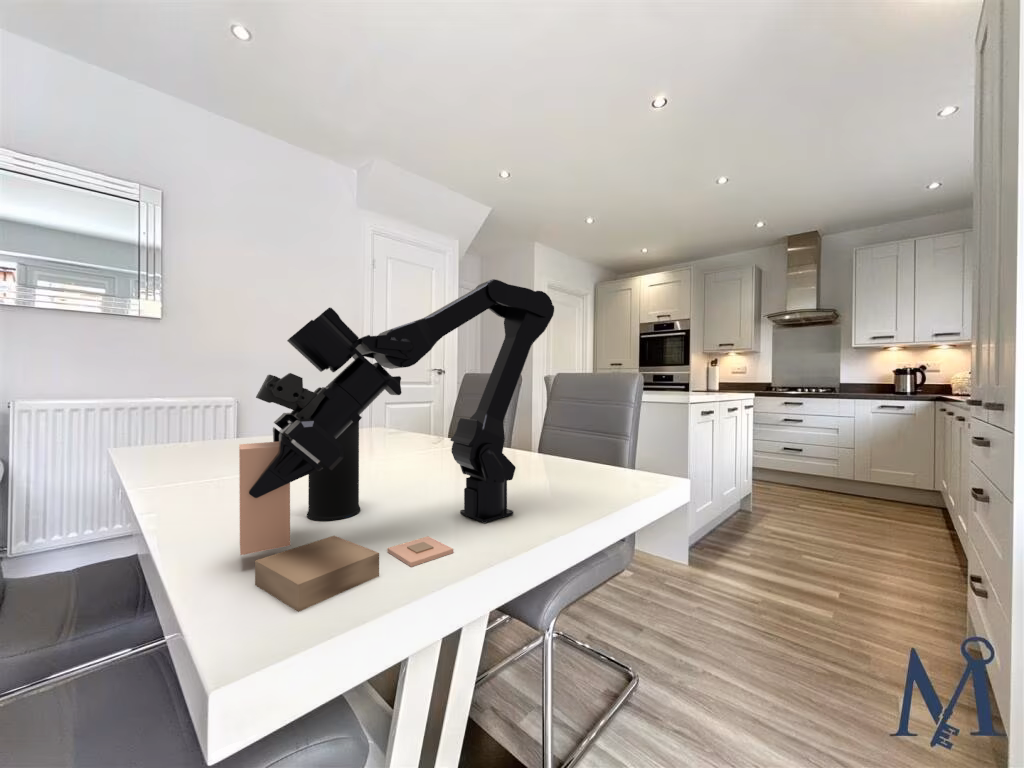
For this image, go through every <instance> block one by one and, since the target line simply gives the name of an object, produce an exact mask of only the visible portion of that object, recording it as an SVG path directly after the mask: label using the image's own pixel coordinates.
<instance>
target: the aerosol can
mask: <svg viewBox="0 0 1024 768" xmlns="http://www.w3.org/2000/svg"><path fill="white" fill-rule="evenodd" d="M336 439H337V440H338V441H339V443H340V444H341V445H342V446H344V458H343V459H342V460H341V461H340V462H339V463H338V464H337V465H336V466H335V467H334V468H333V469H332V470H330V469H329V468H328V467H327V466H325V465H324V464H323V463H322V462H321V461H320V462H319V463H318V464H319V465H320V466H321V467H322V468H323V469H321V470H320V471H319V470H317V471H315V472H313V473H310V474H308V496H307V497H308V498H307V499H308V511H307V512H306V517H307V519H309V520H312V521H319V522H328V521H339V520H344V519H348V518H351V517H354V516H356V515H358V514H359V513H360V512H361V506H360V505H359V504H360V473H359V472H360V420H359V421H358V422H357V423H354V422H352V423H351V424H350V425H349V426H348V427H347V428H346V429H345V430H344V431H343V432H342V433H341V434H340V435H339V436H338V437H337V438H336Z"/></svg>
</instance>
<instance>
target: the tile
mask: <svg viewBox="0 0 1024 768" xmlns="http://www.w3.org/2000/svg"><path fill="white" fill-rule="evenodd" d="M386 549H387V550H386V551H387V553H388V554H390V555H391V556H393V557H395V558H396V559H398V560H399V561H400V562H403V563H404V564H406V565H407V566H408V567H411V568H412V567H415V566H418V565H421V564H424V563H427V562H430V561H434V560H436V559H438V558H442V557H444V556H445V557H446V556H448V555H451V554H453V553H454V548H452V547H451V546H449V545H447V544H444V543H442V542H441V541H438V540H437V539H436V538H432V537H431V536H428V535H427V536H424V537H421V538H418V539H413V540H410V541H407V542H404V543H400V544H396V545H393V546H388V547H386Z"/></svg>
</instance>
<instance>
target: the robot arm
mask: <svg viewBox="0 0 1024 768" xmlns="http://www.w3.org/2000/svg"><path fill="white" fill-rule="evenodd" d="M487 310H489V311H491V312H492V313H494V315H496V316H497V317H500V318H502V319H503V326H504V327H503V328H504V339H503V341H502V344H501V347H500V349H499V352H498V354H497V358H496V360H495V363H494V365H493V367H492V370H491V373H490V375H489V378H488V381H487V383H486V385H485V388H484V390H483V393H482V396H481V397H480V400H479V403H478V405H477V409H476V411H475V412H474V414H472V416H471V417H470V418H464V417H463V418H462V417H460V419H459V420H458V422H457V424H456V425H457V426H456V427H457V428H456V430H455V433H454V434H453V436H452V437H451V438H450V439H449V441H451V442H453V443H452V445H451V454H452V456H453V459H454V461H455V462H456V463H457V464H458V465H459V466H460V470H461V472H462V474H463V475H467V476H469V477H465V487H464V490H463V504H464V505H463V506H464V507H463V509H461V510H460V513H459V514H461V515H463V516H465V517H468V518H471V519H473V520H475V521H478V522H481V523H488V522H492V521H495V520H498V519H499V520H500V519H501V518H504V517H505V518H506V517H508V516H512V515H514V510H512V509H509V508H508V481H512V480H513V479H514V475H515V471H516V465H514V464H513V463H512V461H511V460H510V459H509V458H508V457H507V456H506V455H505V454H504V453H503V452H504V446H505V442H506V436H505V426H504V425H505V424H504V421H505V418H506V416H507V414H508V413H507V412H508V410H509V408H510V405H511V402H512V399H513V396H514V394H515V391H516V388H517V386H518V383H519V379H520V378H521V374H522V371H523V369H524V367H525V364H526V361H527V359H528V356H529V353H530V350H531V348H532V346H533V344H534V343H535V342H536V341H537V340H538V339H539V337H540V336H541V335H543V333H544V332H545V331H546V330H547V328H548V326H549V324H550V322H551V321H552V319H553V317H554V313H555V306H554V304H553V302H552V299H551V298H550V296H549V295H548V294H547V293H546V292H545V291H542V290H536V291H535V290H534V289H530V288H527V287H523V286H517V285H513V284H508V283H506V282H504V281H502V280H499V279H495V278H494V279H492V278H491V279H489V280H488V281H484V282H482V283H479V284H478V285H477V286H476V287H475V288H474V289H472V290H469V292H467V293H464V294H463V295H461V296H460V297H458V298H455V299H454V300H453V301H451V302H448V303H447V304H446V305H444V306H442V307H440V308H439V309H437V310H435V311H433V312H432V313H430V314H428V315H426V316H425V317H423V318H419V319H417V320H413V321H410V322H408V323H405V324H402V325H398V326H396V327H392V328H389V329H387V330H385V331H382V332H380V333H379V334H377V335H370V334H367V335H365V336H362V337H359V336H358V335H357V334H356V333H355V332H354V331H353V330H352V329H351V328H350V327H349V326H348V325H347V324H346V323H345V321H343V320H342V319H341V317H340V315H339V314H338V312H336V310H335V309H333V307H328V308H327V309H325V310H324V311H322V313H321V314H319V315H318V316H317V317H316V318H314V319H311V320H309V322H307V323H306V324H305V325H304V326H302V327H301V328H300V329H299V330H297V332H296V333H294V334H293V335H292V336H290V337H289V338H288V339H287V340H286V341H287V342H288V343H289V344H290V345H291V346H292V347H293V348H294V349H295V350H296V351H297V352H298V353H300V355H302V357H304V358H305V359H306V360H307V361H308V362H309V363H310V364H311V365H312V366H313V367H315V368H316V370H318V371H319V372H320V373H322V372H323V371H325V370H326V371H327V370H330V372H332V373H336V372H337V371H339V369H341V368H342V367H343V366H344V365H345V364H346V363H347V362H349V360H351V358H352V359H353V361H352V362H350V364H348V365H347V366H346V367H345V368H344V369H343V370H342V371H341V372H340V373H338V375H337V376H336V377H335V378H334V379H332V380H331V381H330V382H329V383H328V384H327V385H326V386H322V387H320V386H319V387H318V388H316V389H315V390H314V391H312V390H309V389H308V388H305V387H304V383H303V381H304V380H303V377H301V376H299V375H296V374H294V373H292V372H289V373H287V374H286V375H284V376H283V377H281V378H280V377H278V376H276V375H273V374H267V375H266V378H265V379H264V381H263V383H262V385H261V387H260V388H259V391H257V394H256V396H255V398H256V399H258V400H261V401H264V402H266V403H269V404H271V403H273V404H277V405H279V406H282V407H285V408H287V409H289V410H292V411H290V412H283V413H282V414H281V415H280V416H279V417H278V418H276V419H275V421H273V424H275V425H276V426H277V427H278V428H280V429H279V430H278V429H277V428H276V427H274V426H272V427H273V428H272V439H273V440H272V442H279V452H278V454H277V455H276V456H275V457H274V459H273V460H272V461H271V463H270V464H269V465H268V467H267V468H266V469H265V471H264V472H263V473H262V474H261V476H260V477H259V478H258V480H257V481H256V482H255V484H254V485H253V486H252V488H251V489H250V491H249V494H250V495H251V496H253V497H254V498H258V497H260V496H262V495H264V494H267V493H269V492H271V491H273V490H275V489H277V488H279V487H281V486H284V485H286V484H288V483H290V484H291V483H292V482H294V481H296V480H298V479H301V478H303V477H306V476H309V474H310V473H313V472H315V471H317V470H319V471H320V470H321V469H323V468H322V467H321V466H320V465H319V464H318V463H319V462H320V461H321V462H322V463H323V464H324V465H325V466H327V467H328V468H329V469H330V470H332V469H333V468H334V467H335V466H336V465H337V464H338V463H339V462H340V461H341V460H342V459H343V458H344V446H342V445H341V444H340V443H339V441H338V440H337V439H336V438H337V437H338V436H339V435H340V434H341V433H342V432H343V431H344V430H345V429H346V428H347V427H348V426H349V425H350V424H351V423H352V422H354V423H357V422H358V421H359V422H360V421H361V419H362V418H363V417H362V416H361V414H362V413H363V412H364V411H365V410H366V409H367V408H368V407H369V406H370V405H371V404H372V403H373V402H374V401H375V400H376V399H377V398H378V397H379V396H381V394H382V393H383V392H384V391H386V392H387V393H388V394H389V395H391V396H400V395H402V393H403V392H402V387H401V382H402V381H401V380H402V377H401V376H400V375H398V376H396V375H395V376H392V375H391V373H389V372H388V371H387V370H386V369H389V370H390V369H391V370H393V369H402V368H410V367H412V366H414V365H416V364H417V363H418V362H419V361H420V360H421V359H423V357H425V356H426V355H427V354H428V353H429V352H431V350H432V349H433V347H435V346H436V344H437V343H438V341H440V340H441V339H442V338H443V337H444V336H447V334H450V333H451V332H453V331H454V330H456V329H458V328H459V327H460V326H462V325H464V324H466V323H468V322H469V321H470V320H473V319H474V318H475V317H477V316H479V315H480V314H482V313H484V312H485V311H487ZM367 358H369V359H373V360H374V361H375V362H374V363H372V362H371V361H369V360H368V359H367ZM385 368H386V369H385Z"/></svg>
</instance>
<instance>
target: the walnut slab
mask: <svg viewBox="0 0 1024 768" xmlns="http://www.w3.org/2000/svg"><path fill="white" fill-rule="evenodd" d="M378 577H380V552H378V551H375V550H373V549H370V548H368V547H365V546H363V545H360V544H357V543H355V542H352V541H349V540H347V539H345V538H342V537H340V536H337V535H332V536H328V537H325V538H321V539H319V540H315V541H313V542H310V543H306V544H303V545H300V546H297V547H294V548H293V547H292V548H291V549H287V550H284V551H281V552H278V553H274V554H271V555H268V556H265V557H261V558H259V559H256V560H254V586H256V587H257V588H258V589H261V590H262V591H264V592H265V593H267V594H269V595H270V596H272V597H274V598H275V599H276V600H278V601H280V602H281V603H283V604H285V605H286V606H287V607H289V608H291V609H292V610H294V611H296V612H297V613H299V612H302V611H304V610H306V609H308V608H310V607H313V606H314V605H317V604H319V603H322V602H324V601H326V600H328V599H330V598H333V597H335V596H338V595H340V594H342V593H345V592H346V591H349V590H351V589H353V588H356V587H358V586H361V585H362V584H364V583H367V582H369V581H371V580H374V579H376V578H378Z"/></svg>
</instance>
